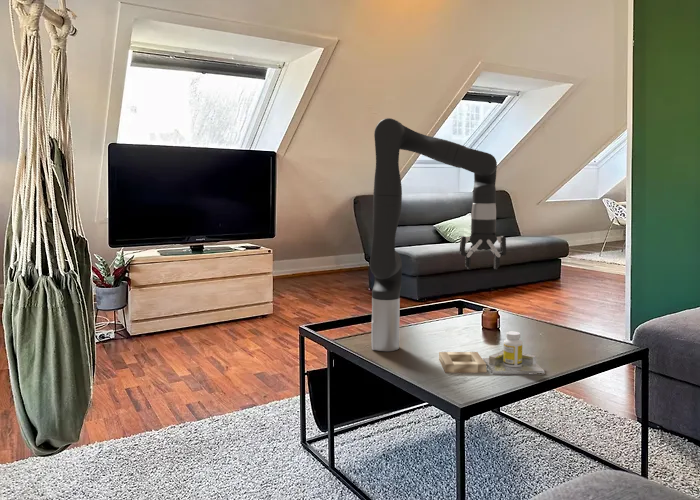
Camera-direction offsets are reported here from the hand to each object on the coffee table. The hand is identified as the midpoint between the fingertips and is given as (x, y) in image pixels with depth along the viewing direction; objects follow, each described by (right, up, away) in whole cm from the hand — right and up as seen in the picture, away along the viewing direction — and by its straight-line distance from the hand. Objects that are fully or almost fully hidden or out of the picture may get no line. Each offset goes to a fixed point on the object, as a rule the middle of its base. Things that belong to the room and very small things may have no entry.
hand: (482, 268), depth 179 cm
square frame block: (-8, -29, -8) cm, 31 cm away
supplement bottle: (+7, -29, -10) cm, 31 cm away
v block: (+7, -29, -10) cm, 32 cm away
